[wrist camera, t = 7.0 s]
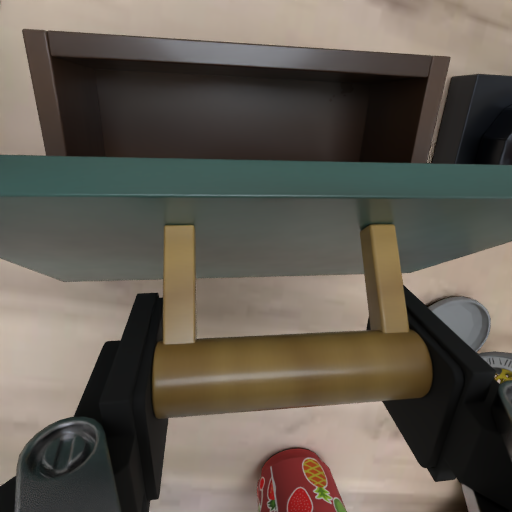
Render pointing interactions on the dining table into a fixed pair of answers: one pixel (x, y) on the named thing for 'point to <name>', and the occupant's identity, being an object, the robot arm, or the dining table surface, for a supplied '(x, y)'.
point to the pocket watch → (473, 330)
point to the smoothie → (297, 484)
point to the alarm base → (476, 121)
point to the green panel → (257, 259)
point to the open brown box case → (231, 99)
